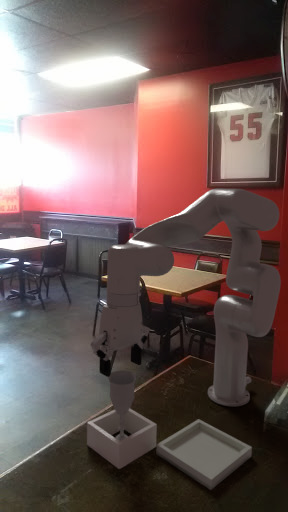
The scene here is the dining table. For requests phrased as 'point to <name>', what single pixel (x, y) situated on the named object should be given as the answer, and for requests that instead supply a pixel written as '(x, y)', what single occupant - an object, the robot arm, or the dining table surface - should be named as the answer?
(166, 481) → the dining table surface
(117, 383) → the chalice
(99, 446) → the sleeve
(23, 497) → the dining table surface
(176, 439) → the tray
